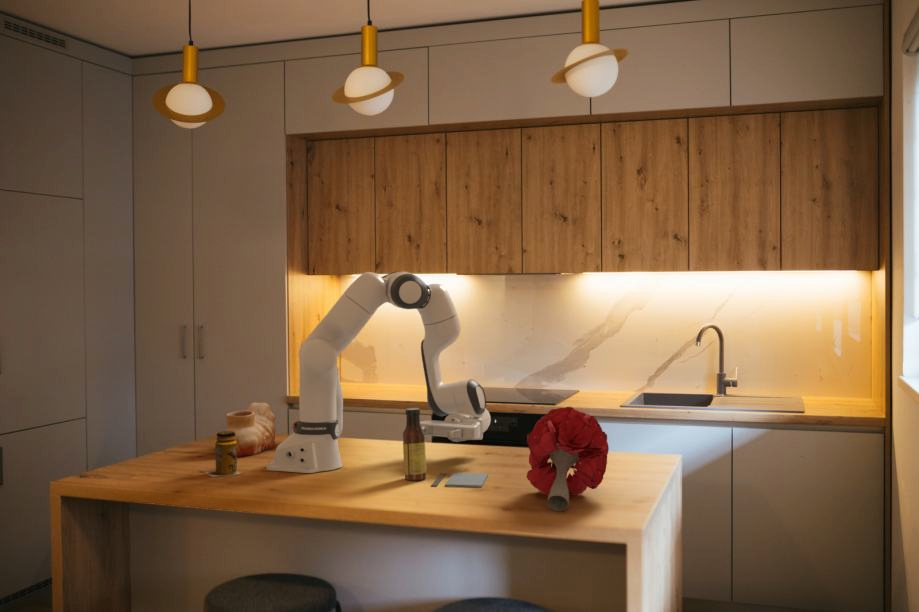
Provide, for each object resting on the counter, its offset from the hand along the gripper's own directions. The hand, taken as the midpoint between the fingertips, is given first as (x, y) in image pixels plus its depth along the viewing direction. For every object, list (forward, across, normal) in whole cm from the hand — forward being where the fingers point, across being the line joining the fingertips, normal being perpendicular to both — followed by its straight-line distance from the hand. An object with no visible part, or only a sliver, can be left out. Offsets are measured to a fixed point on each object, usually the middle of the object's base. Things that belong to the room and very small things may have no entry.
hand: (435, 433), depth 257 cm
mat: (+7, +14, +11) cm, 19 cm away
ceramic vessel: (0, -71, +11) cm, 72 cm away
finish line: (+10, +7, +11) cm, 16 cm away
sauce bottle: (+12, 0, +11) cm, 16 cm away
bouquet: (+14, +46, +11) cm, 49 cm away
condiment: (+31, -54, +11) cm, 63 cm away
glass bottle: (-25, -58, +11) cm, 64 cm away
